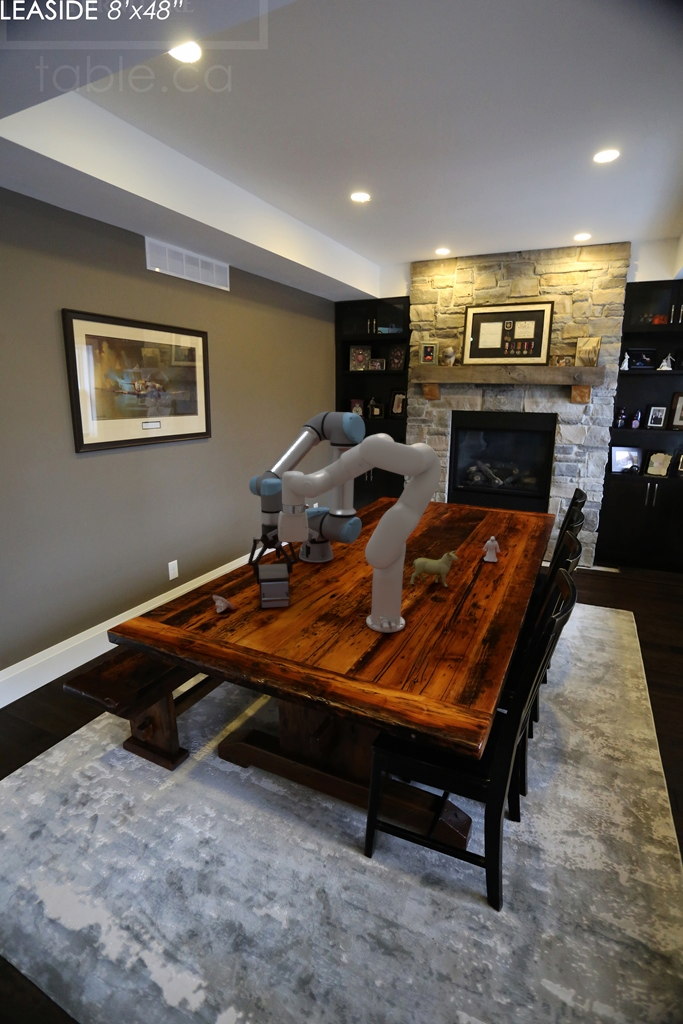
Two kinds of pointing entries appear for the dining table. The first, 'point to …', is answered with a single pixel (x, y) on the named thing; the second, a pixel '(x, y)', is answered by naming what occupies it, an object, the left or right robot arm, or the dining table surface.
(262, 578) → the cabinet
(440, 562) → the toy
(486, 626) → the dining table surface
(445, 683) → the dining table surface
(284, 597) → the drawer
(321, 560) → the left robot arm
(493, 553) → the figurine
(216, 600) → the seashell
